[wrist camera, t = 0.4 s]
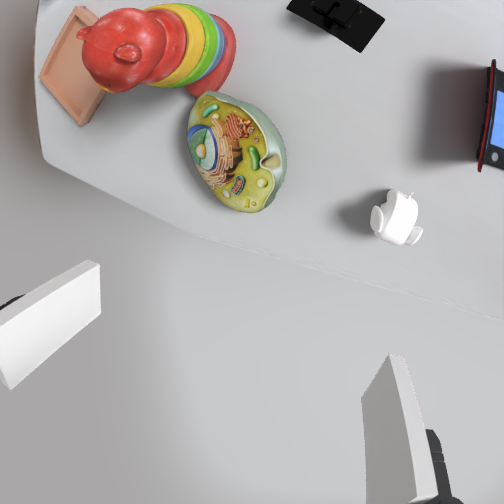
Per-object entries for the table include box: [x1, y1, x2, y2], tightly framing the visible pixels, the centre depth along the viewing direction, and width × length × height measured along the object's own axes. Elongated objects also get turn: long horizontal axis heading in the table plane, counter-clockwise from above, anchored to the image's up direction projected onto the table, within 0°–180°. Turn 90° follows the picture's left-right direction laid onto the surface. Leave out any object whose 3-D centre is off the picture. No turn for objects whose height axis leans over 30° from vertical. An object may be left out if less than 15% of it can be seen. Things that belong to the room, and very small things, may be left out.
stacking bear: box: [76, 3, 236, 98], centre depth 21 cm, size 11×10×18 cm
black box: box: [286, 0, 385, 53], centre depth 21 cm, size 12×7×5 cm, turn 60°
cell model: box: [187, 90, 287, 213], centre depth 32 cm, size 11×8×15 cm
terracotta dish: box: [38, 6, 107, 126], centre depth 30 cm, size 14×14×2 cm
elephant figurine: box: [370, 189, 423, 245], centre depth 31 cm, size 7×8×6 cm
